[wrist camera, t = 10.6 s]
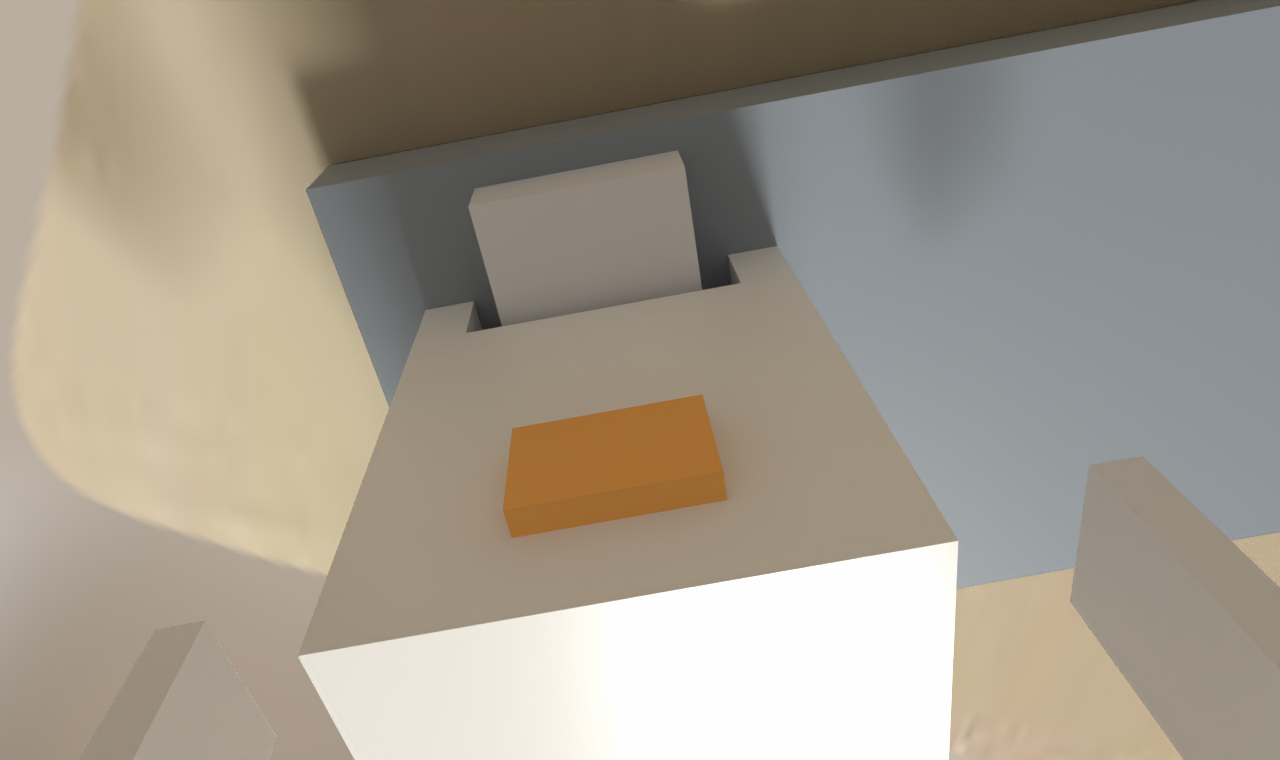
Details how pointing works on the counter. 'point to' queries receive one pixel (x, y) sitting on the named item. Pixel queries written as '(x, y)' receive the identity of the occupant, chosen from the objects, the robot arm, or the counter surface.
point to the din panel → (917, 252)
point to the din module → (639, 546)
